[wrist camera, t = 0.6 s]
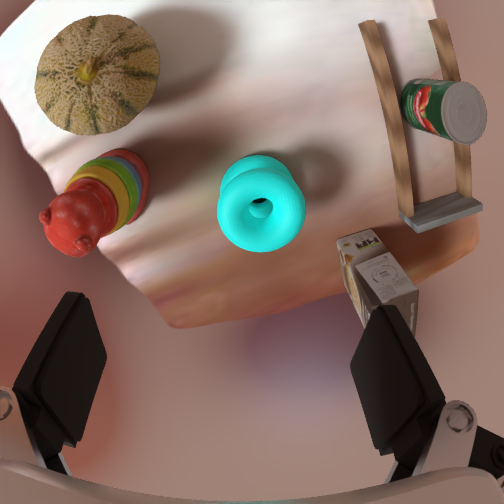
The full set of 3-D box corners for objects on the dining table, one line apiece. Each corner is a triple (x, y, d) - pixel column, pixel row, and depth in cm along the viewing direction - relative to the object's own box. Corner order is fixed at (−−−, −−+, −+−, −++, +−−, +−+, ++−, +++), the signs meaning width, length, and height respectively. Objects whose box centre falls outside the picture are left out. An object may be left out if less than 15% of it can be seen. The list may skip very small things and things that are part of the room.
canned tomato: (448, 111, 36) (494, 124, 27) (416, 139, 39) (460, 158, 29) (423, 69, 33) (469, 70, 24) (388, 96, 36) (431, 102, 26)
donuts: (229, 264, 36) (205, 184, 31) (230, 228, 45) (212, 162, 40) (313, 246, 35) (300, 163, 31) (298, 213, 44) (285, 146, 39)
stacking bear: (76, 184, 40) (8, 240, 24) (111, 131, 37) (40, 163, 21) (128, 228, 44) (82, 301, 28) (168, 179, 41) (128, 238, 25)
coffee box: (334, 239, 46) (370, 305, 33) (371, 227, 46) (419, 287, 32) (343, 284, 51) (374, 354, 37) (377, 273, 50) (417, 338, 36)
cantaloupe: (58, 67, 31) (-9, 69, 18) (143, 6, 28) (98, -28, 15) (101, 147, 38) (44, 178, 24) (191, 91, 35) (164, 92, 22)
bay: (358, 24, 30) (376, 16, 25) (433, 20, 29) (456, 16, 24) (399, 216, 45) (417, 233, 40) (461, 196, 43) (482, 210, 38)
